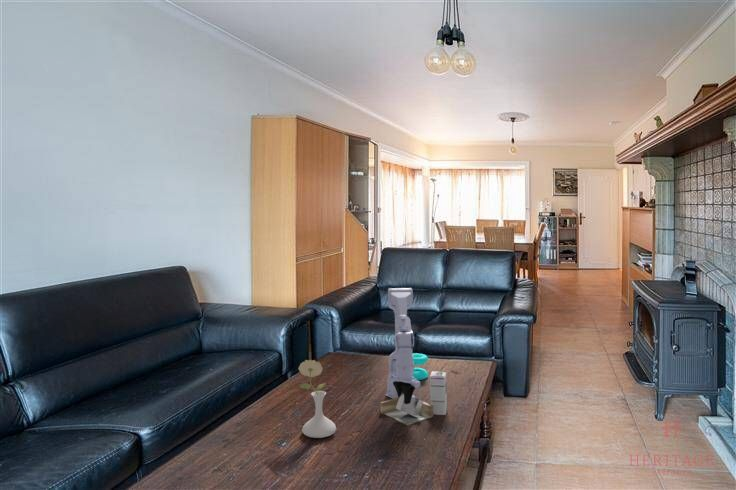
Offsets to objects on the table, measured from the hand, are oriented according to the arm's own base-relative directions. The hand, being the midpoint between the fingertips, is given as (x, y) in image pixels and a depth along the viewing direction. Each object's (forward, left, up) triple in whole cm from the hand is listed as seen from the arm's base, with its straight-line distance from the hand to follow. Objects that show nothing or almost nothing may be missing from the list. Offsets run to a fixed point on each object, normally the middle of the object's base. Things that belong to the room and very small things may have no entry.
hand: (404, 402), depth 176 cm
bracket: (+1, 0, -4) cm, 4 cm away
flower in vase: (-8, -32, -6) cm, 34 cm away
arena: (-1, +2, -6) cm, 6 cm away
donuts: (-31, +34, -6) cm, 46 cm away
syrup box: (+4, +13, -6) cm, 15 cm away
